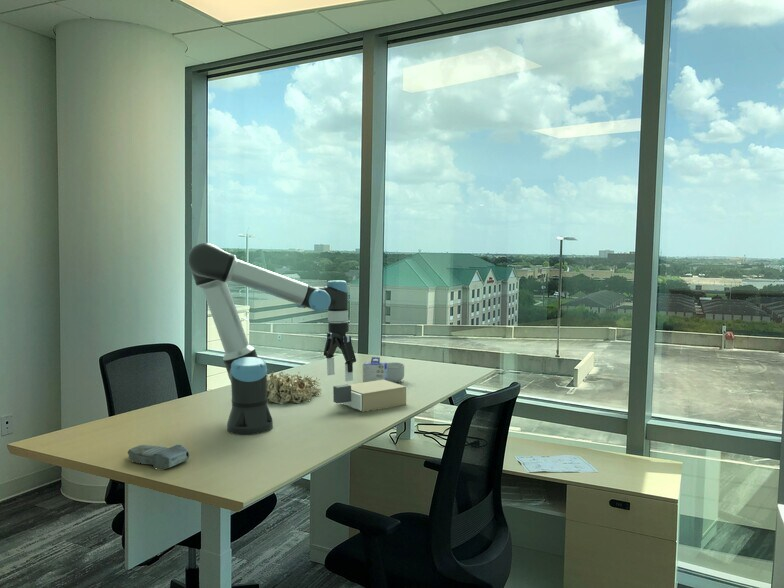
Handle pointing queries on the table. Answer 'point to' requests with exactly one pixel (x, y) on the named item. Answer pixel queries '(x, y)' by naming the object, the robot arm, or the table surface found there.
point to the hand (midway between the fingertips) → (339, 377)
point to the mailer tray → (355, 401)
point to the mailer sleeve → (380, 394)
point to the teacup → (395, 372)
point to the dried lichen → (290, 388)
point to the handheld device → (159, 455)
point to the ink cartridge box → (374, 370)
